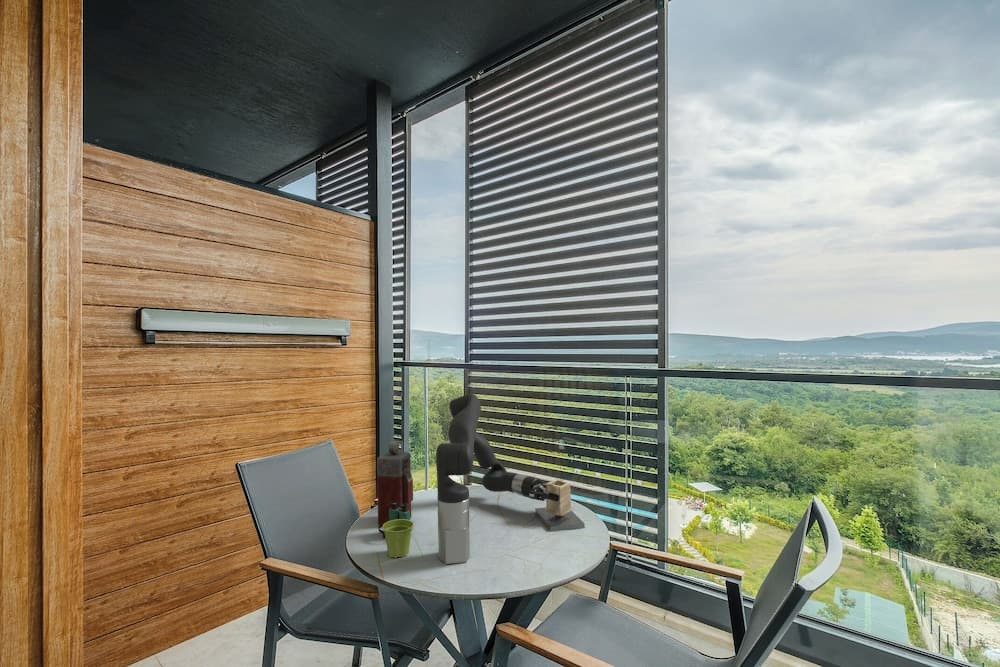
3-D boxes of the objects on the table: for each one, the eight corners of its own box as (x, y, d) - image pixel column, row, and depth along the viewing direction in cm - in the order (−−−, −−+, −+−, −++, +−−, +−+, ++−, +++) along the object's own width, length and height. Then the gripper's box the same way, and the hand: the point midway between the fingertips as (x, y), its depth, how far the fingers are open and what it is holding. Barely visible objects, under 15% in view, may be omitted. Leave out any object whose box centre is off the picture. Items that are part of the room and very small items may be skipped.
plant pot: (420, 550, 152) (420, 521, 152) (402, 563, 143) (401, 533, 143) (395, 545, 156) (395, 517, 156) (375, 557, 147) (375, 528, 147)
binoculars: (372, 509, 160) (394, 497, 168) (375, 541, 160) (397, 528, 169) (392, 514, 155) (414, 502, 163) (395, 547, 156) (417, 533, 164)
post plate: (584, 527, 167) (584, 504, 167) (550, 531, 164) (549, 507, 164) (566, 509, 184) (566, 488, 184) (535, 512, 182) (534, 491, 182)
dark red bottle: (408, 526, 170) (406, 444, 170) (377, 524, 172) (376, 443, 173) (417, 517, 179) (416, 439, 179) (388, 515, 181) (387, 438, 181)
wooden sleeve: (570, 511, 174) (570, 482, 174) (560, 516, 170) (560, 486, 170) (556, 507, 179) (556, 479, 179) (546, 512, 174) (546, 483, 174)
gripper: (514, 480, 179) (551, 490, 167) (539, 472, 189) (576, 480, 178) (514, 501, 179) (551, 512, 167) (539, 491, 189) (576, 501, 178)
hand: (564, 496), depth 173 cm, fingers closed on wooden sleeve, 6 cm apart
